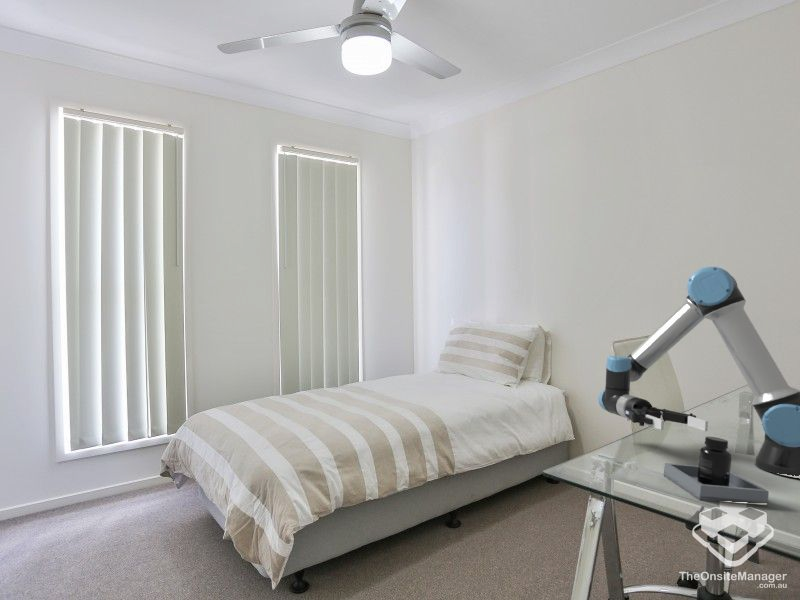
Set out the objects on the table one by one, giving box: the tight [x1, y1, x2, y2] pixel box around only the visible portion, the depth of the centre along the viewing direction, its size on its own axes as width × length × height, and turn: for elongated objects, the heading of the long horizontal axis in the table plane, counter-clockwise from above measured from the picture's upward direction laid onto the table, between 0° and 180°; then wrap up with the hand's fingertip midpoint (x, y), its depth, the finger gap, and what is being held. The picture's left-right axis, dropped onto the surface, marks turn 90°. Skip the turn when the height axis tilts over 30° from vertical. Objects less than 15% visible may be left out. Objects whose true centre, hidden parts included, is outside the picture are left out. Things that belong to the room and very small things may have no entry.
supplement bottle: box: [697, 436, 732, 486], centre depth 123 cm, size 7×7×12 cm
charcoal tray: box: [663, 462, 769, 503], centre depth 123 cm, size 16×16×4 cm
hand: (684, 425), depth 133 cm, fingers open, 13 cm apart
